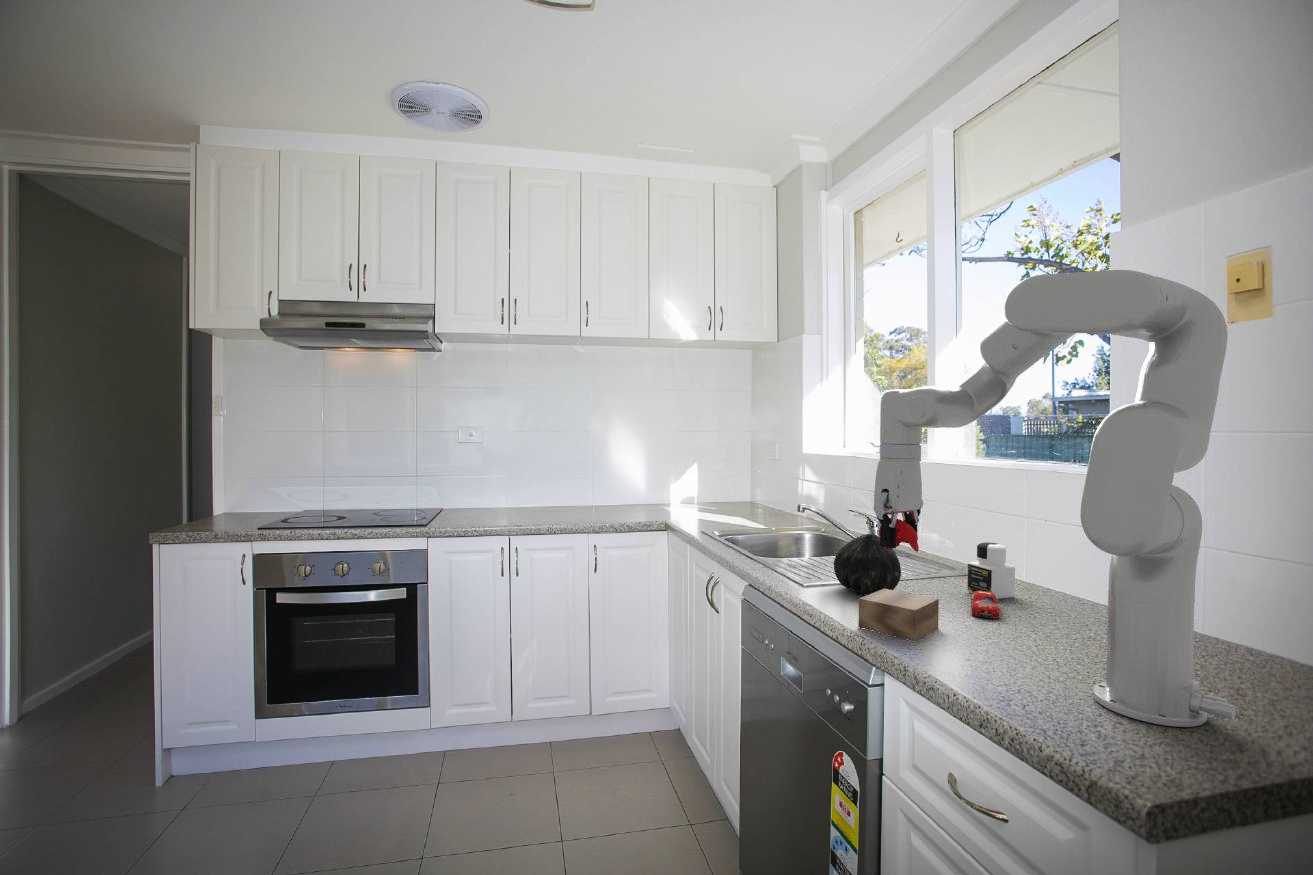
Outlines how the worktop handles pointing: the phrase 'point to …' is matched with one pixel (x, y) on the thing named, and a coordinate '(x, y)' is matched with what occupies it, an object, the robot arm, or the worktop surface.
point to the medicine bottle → (991, 571)
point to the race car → (985, 604)
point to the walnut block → (899, 614)
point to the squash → (867, 565)
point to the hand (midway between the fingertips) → (898, 544)
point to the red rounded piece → (905, 534)
